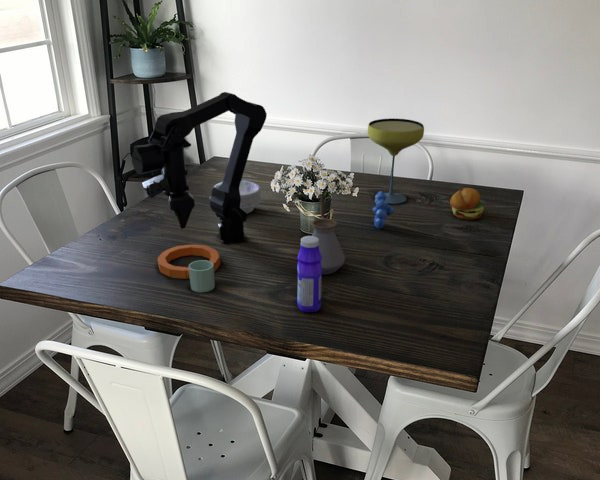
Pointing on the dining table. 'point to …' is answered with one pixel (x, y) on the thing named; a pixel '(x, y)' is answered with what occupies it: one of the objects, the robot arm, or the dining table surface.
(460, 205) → the cheeseburger
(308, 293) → the bottle
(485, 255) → the dining table surface
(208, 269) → the cup
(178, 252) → the ring
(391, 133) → the cocktail glass
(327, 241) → the coffee pot
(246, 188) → the paper bowls
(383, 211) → the grapes
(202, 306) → the dining table surface
